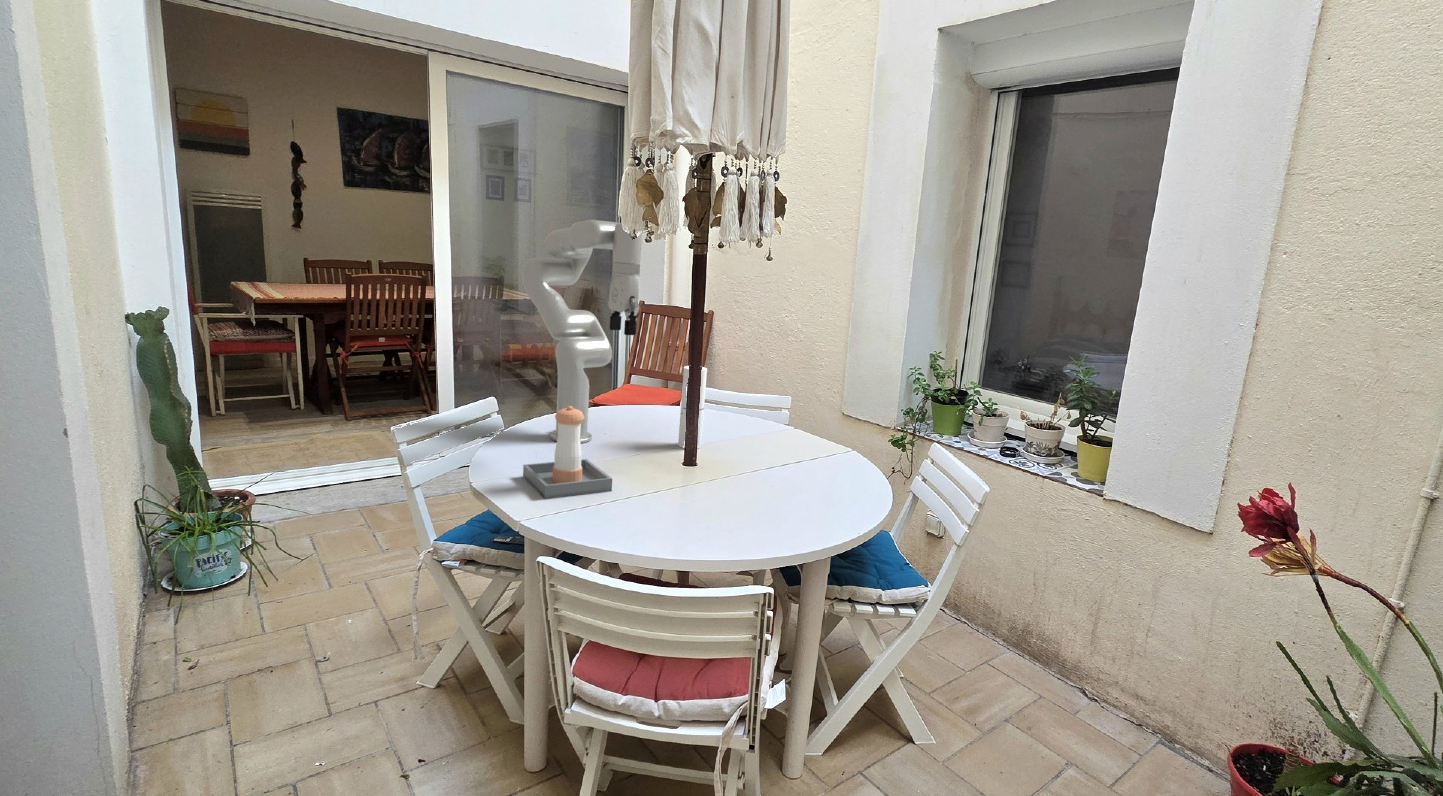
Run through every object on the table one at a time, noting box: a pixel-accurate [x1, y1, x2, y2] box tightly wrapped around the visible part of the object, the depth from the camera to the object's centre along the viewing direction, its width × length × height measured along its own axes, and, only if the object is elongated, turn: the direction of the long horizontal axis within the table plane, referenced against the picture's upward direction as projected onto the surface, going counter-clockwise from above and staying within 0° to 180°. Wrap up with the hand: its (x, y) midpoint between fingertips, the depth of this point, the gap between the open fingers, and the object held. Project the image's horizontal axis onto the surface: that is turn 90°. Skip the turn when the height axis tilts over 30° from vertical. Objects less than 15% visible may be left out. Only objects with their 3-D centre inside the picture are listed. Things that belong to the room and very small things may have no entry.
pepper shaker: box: [552, 406, 584, 483], centre depth 175 cm, size 7×7×19 cm
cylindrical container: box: [677, 365, 708, 449], centre depth 217 cm, size 7×7×25 cm
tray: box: [522, 458, 613, 500], centre depth 176 cm, size 17×17×3 cm
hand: (622, 332), depth 194 cm, fingers open, 9 cm apart
